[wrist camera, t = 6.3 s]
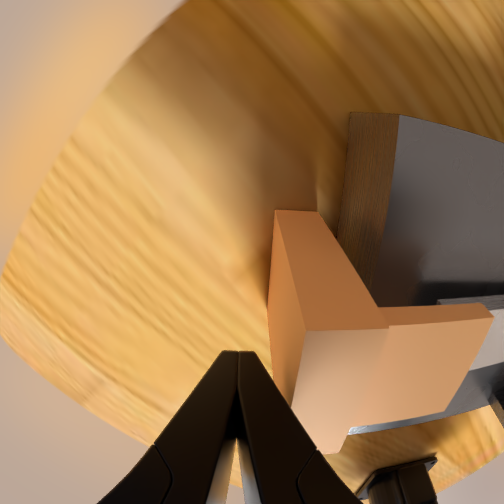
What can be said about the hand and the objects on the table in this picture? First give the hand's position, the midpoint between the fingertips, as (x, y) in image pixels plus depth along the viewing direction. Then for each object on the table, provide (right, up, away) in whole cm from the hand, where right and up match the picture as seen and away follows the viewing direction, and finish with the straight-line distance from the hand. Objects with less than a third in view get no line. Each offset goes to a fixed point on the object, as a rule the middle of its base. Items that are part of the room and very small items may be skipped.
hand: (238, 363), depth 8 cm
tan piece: (+4, +2, +5) cm, 7 cm away
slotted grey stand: (+13, +2, +5) cm, 14 cm away
